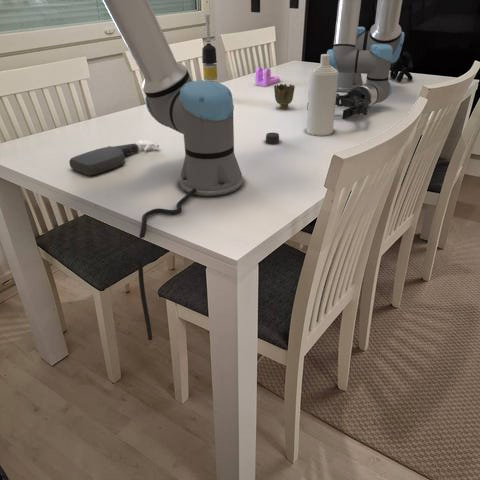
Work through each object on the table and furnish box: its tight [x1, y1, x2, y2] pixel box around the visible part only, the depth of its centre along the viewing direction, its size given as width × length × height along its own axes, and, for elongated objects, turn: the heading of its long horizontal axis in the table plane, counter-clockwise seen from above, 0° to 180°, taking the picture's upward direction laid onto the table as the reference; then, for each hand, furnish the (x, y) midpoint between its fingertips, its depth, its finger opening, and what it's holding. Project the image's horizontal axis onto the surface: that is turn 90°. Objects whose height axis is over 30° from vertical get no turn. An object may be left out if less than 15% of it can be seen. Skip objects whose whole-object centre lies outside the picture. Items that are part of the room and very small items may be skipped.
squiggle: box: [389, 51, 414, 83], centre depth 198 cm, size 11×10×15 cm
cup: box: [273, 83, 296, 110], centre depth 163 cm, size 8×7×8 cm
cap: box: [265, 132, 280, 145], centre depth 134 cm, size 4×4×2 cm
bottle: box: [305, 53, 338, 137], centre depth 137 cm, size 8×8×23 cm
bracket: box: [254, 66, 280, 87], centre depth 199 cm, size 13×6×7 cm, turn 143°
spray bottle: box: [68, 139, 160, 177], centre depth 124 cm, size 3×11×24 cm
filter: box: [201, 14, 219, 83], centre depth 171 cm, size 6×6×30 cm
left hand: (275, 10), depth 116 cm, fingers open, 13 cm apart
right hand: (325, 110), depth 141 cm, fingers open, 13 cm apart
